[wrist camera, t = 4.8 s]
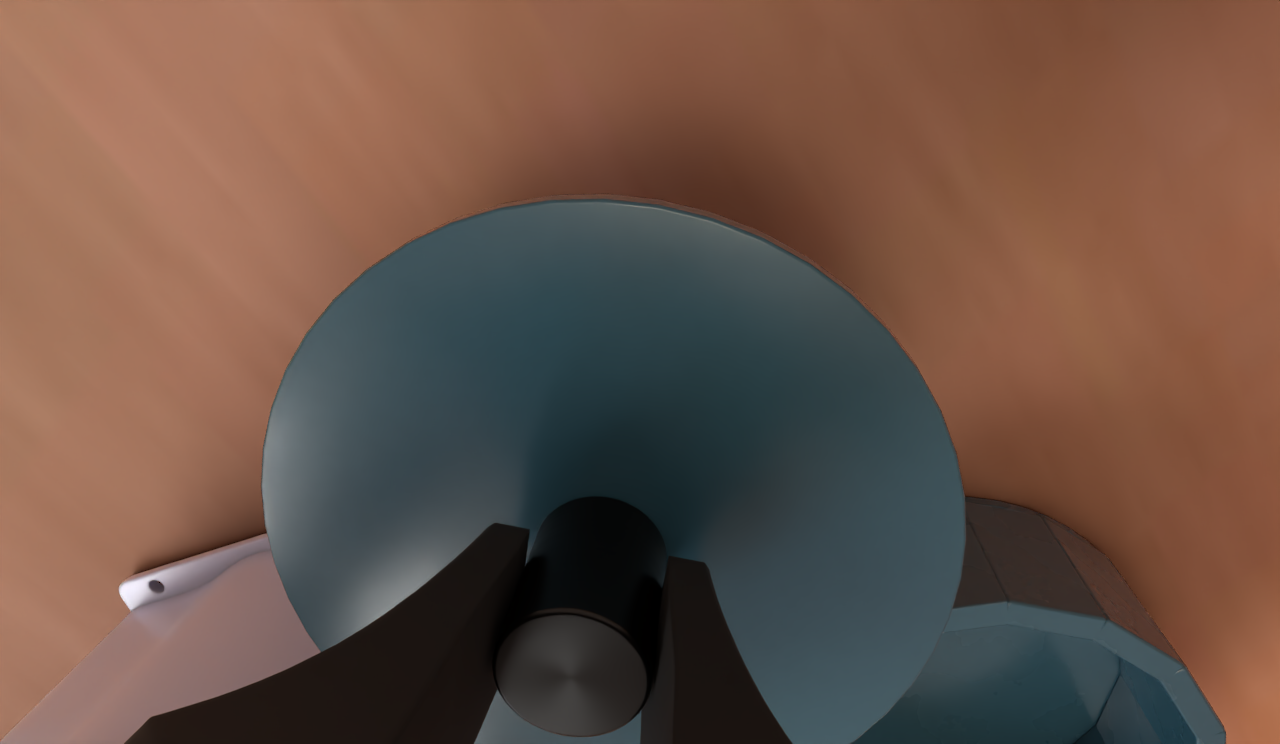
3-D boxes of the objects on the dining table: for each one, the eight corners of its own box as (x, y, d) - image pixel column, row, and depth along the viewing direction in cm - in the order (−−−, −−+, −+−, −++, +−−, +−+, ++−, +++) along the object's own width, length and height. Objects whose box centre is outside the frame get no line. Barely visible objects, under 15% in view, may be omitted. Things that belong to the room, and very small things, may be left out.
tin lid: (290, 704, 19) (175, 883, 15) (284, 124, 14) (110, 165, 10) (852, 815, 19) (885, 1028, 15) (1053, 261, 14) (1184, 358, 10)
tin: (717, 760, 29) (715, 899, 24) (792, 462, 24) (807, 564, 20) (1059, 825, 29) (1123, 978, 24) (1201, 536, 24) (1313, 657, 20)
